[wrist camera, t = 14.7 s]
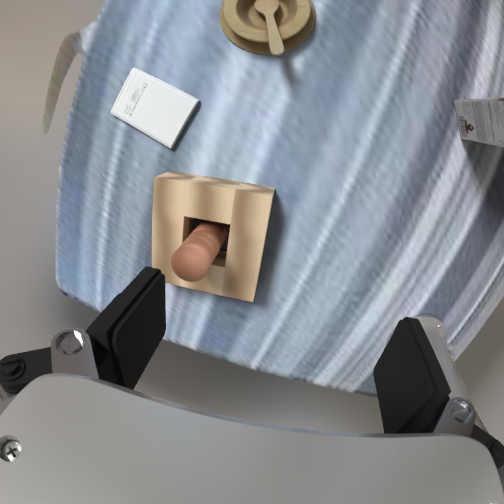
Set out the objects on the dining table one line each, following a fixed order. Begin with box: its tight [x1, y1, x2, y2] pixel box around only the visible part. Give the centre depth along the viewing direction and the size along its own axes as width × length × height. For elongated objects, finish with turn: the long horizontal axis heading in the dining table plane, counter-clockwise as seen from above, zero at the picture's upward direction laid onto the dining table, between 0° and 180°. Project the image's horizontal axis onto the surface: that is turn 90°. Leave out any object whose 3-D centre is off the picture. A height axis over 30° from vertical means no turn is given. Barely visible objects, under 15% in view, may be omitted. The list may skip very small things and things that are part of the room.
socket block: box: [152, 171, 275, 302], centre depth 43 cm, size 16×16×5 cm
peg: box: [171, 220, 229, 282], centre depth 39 cm, size 4×4×12 cm
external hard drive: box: [111, 68, 200, 149], centre depth 38 cm, size 2×8×12 cm
